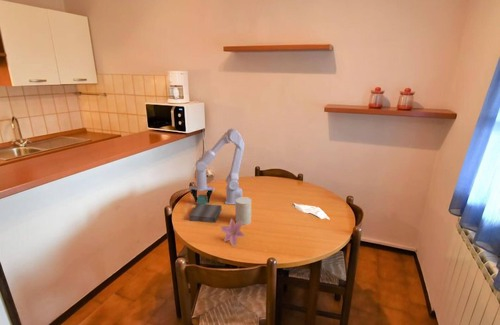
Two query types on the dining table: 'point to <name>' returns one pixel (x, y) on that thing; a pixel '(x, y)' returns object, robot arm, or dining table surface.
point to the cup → (243, 210)
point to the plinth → (205, 213)
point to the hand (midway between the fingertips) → (202, 201)
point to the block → (202, 199)
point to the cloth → (312, 210)
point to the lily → (232, 232)
